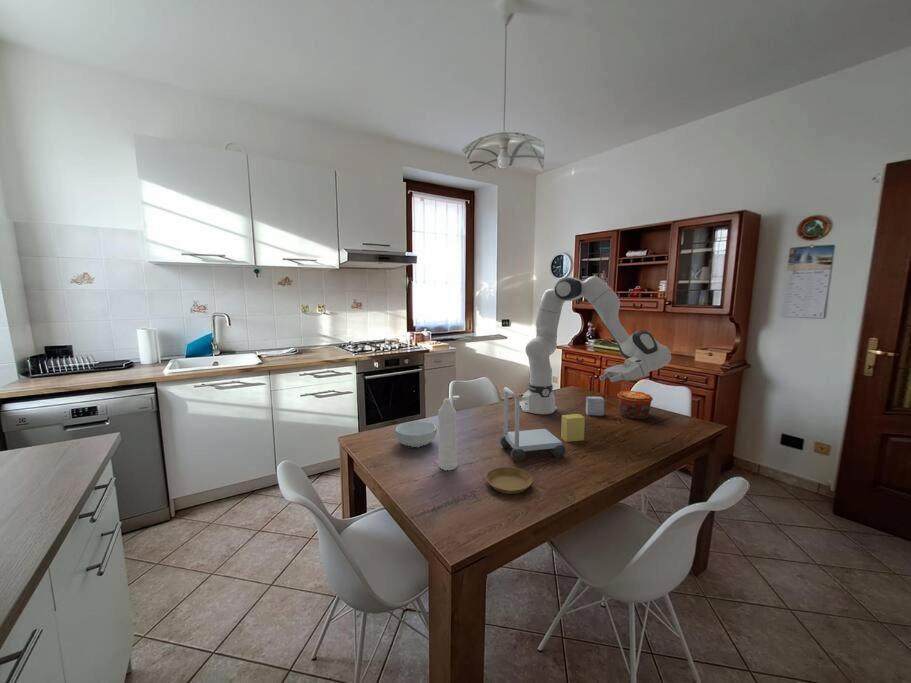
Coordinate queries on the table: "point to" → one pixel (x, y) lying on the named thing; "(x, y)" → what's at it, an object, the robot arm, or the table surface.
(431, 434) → the cereal bowl
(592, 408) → the medicine box
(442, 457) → the water bottle
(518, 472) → the plant saucer
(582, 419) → the yellow rectangular block
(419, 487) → the table surface
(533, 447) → the trolley
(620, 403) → the food container
